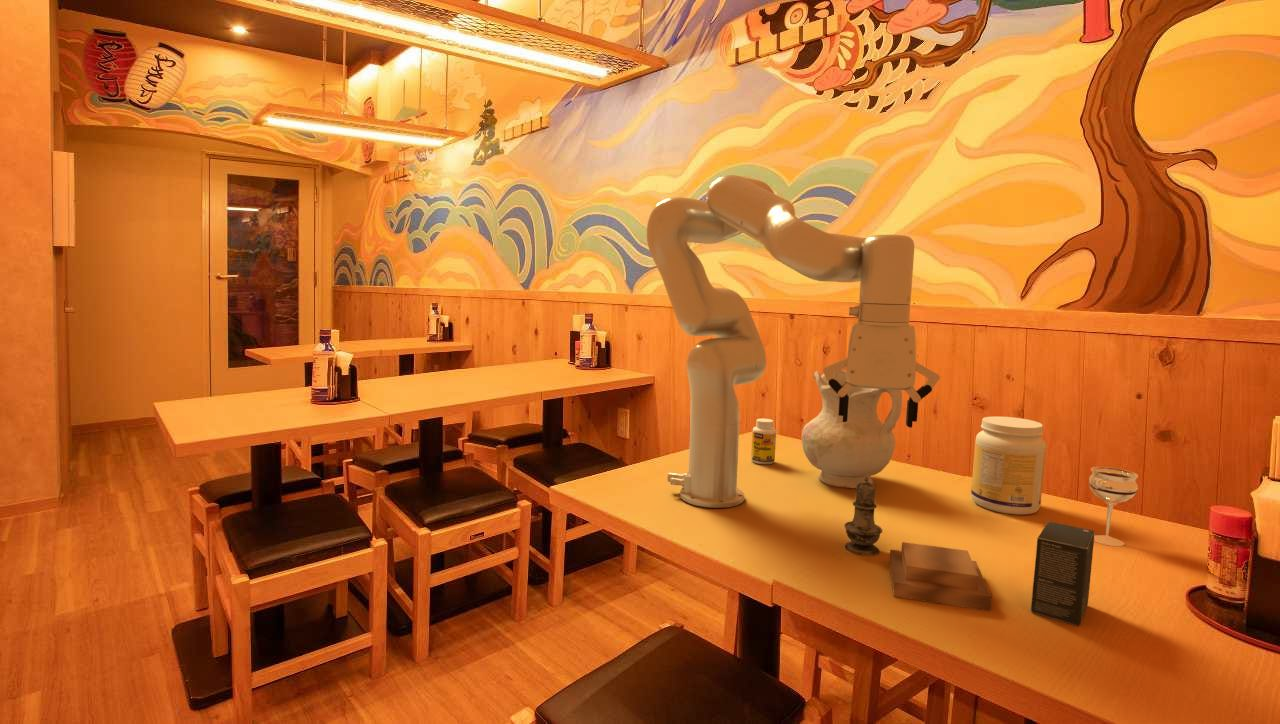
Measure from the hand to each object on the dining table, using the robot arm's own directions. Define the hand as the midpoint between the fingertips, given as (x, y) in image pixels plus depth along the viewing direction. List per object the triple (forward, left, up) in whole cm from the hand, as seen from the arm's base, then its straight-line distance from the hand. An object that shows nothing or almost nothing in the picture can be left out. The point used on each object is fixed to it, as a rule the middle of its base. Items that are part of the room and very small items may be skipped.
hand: (876, 423), depth 106 cm
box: (+24, -13, -21) cm, 34 cm away
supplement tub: (+26, +32, -21) cm, 46 cm away
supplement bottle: (-23, +46, -21) cm, 56 cm away
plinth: (+9, -11, -21) cm, 25 cm away
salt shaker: (-1, -1, -21) cm, 21 cm away
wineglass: (+39, +18, -21) cm, 48 cm away
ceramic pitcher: (-3, +37, -21) cm, 43 cm away
